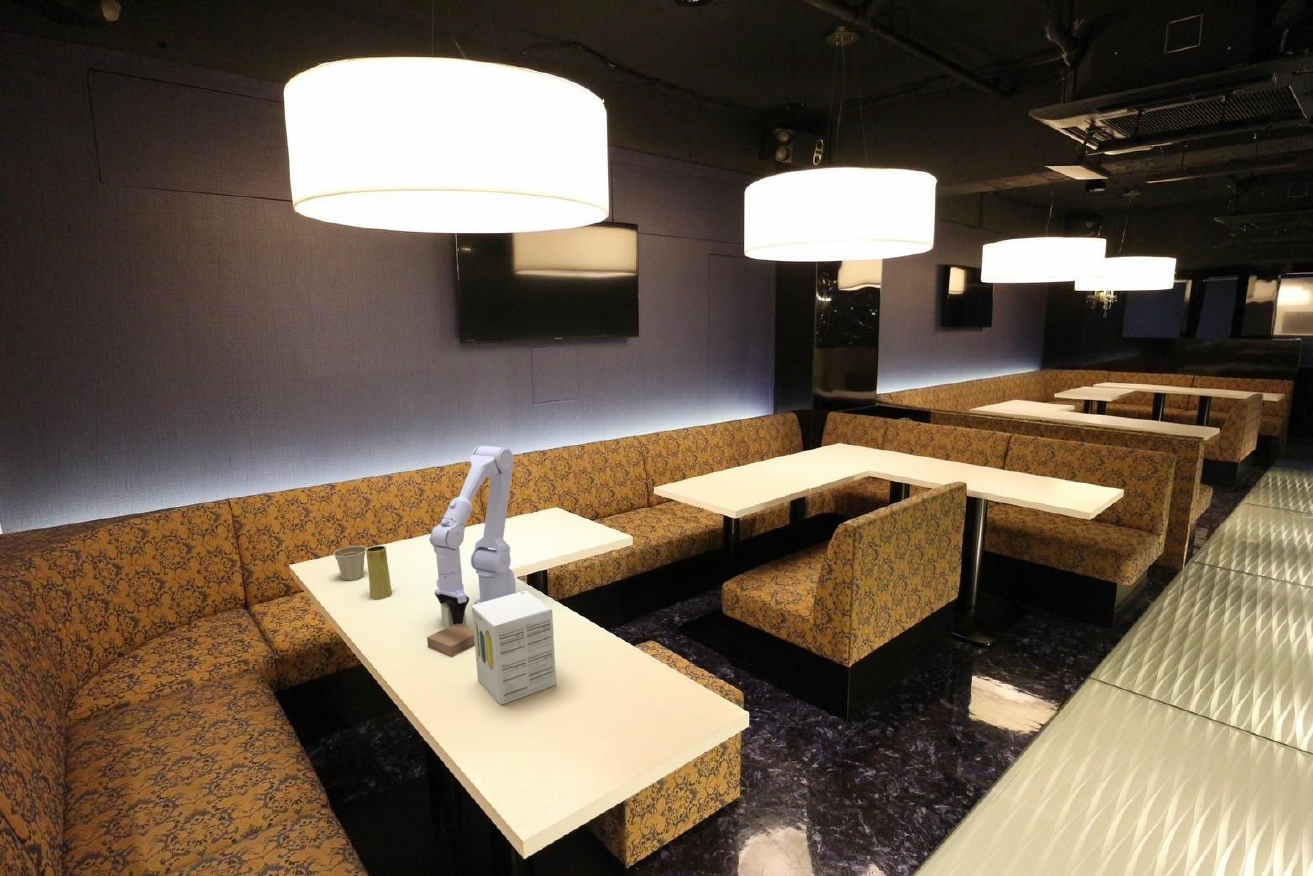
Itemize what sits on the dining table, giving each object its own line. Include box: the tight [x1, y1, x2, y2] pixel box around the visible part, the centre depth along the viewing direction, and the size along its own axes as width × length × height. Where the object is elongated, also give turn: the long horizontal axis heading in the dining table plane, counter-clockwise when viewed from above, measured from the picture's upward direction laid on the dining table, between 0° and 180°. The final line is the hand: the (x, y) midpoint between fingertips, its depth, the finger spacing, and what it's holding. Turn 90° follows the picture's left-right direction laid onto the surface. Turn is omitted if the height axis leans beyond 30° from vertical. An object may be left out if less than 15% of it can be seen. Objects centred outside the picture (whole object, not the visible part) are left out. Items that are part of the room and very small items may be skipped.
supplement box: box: [471, 590, 557, 706], centre depth 143 cm, size 13×13×18 cm
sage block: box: [440, 603, 467, 629], centre depth 172 cm, size 4×4×6 cm
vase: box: [365, 545, 393, 600], centre depth 193 cm, size 6×6×14 cm
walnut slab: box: [426, 623, 475, 658], centre depth 162 cm, size 9×9×3 cm
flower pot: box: [333, 545, 368, 582], centre depth 208 cm, size 9×9×9 cm
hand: (453, 620), depth 173 cm, fingers open, 5 cm apart
